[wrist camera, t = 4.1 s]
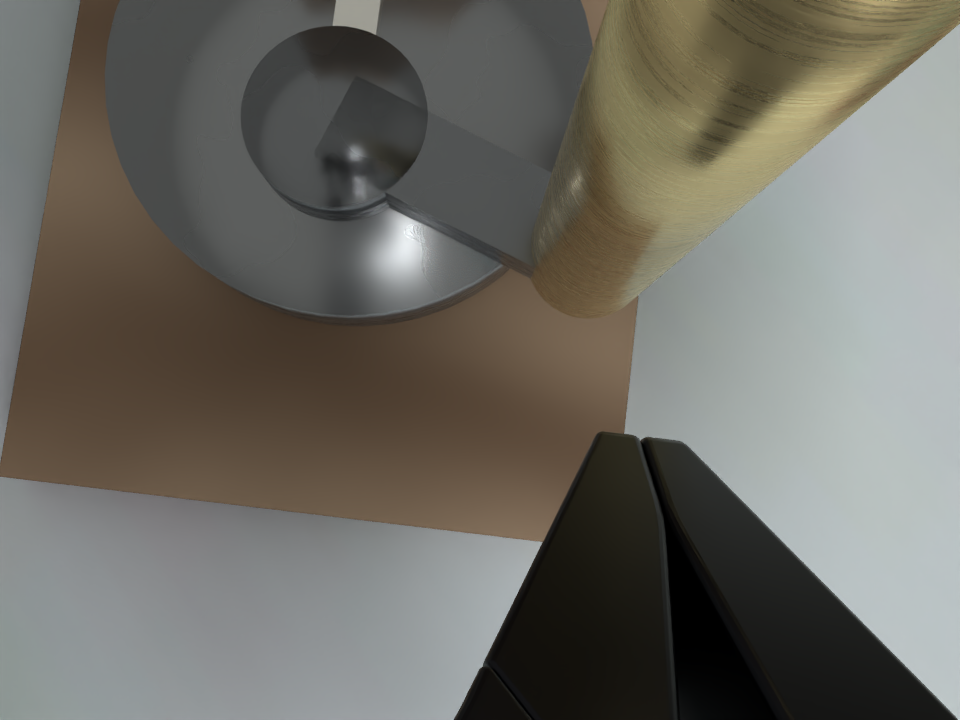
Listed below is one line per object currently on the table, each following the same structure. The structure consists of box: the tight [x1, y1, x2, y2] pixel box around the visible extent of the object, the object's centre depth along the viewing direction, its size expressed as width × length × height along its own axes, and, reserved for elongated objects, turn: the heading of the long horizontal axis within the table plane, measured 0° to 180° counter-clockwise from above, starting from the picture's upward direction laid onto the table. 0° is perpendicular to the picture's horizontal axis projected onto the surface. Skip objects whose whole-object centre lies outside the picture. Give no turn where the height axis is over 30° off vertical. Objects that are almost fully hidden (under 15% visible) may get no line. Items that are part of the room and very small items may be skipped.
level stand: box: [0, 0, 638, 542], centre depth 15 cm, size 17×12×8 cm
